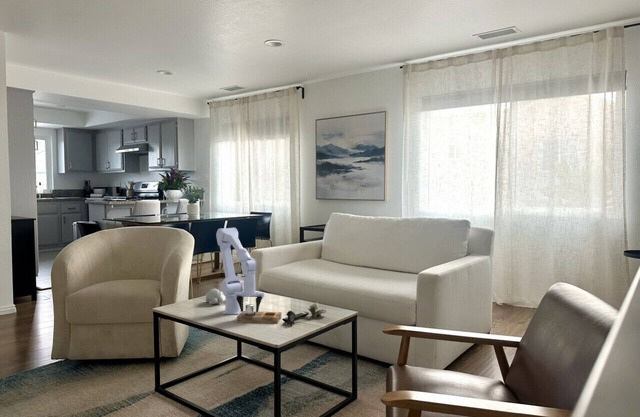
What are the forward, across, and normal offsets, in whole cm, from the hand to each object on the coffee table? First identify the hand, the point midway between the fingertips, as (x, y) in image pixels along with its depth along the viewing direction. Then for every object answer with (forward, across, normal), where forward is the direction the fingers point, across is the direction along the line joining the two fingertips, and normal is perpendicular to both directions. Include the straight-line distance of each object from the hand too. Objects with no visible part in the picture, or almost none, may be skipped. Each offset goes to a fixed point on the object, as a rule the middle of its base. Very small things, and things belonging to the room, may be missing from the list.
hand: (249, 311), depth 223 cm
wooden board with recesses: (+4, +5, 0) cm, 6 cm away
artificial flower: (+4, +28, +3) cm, 28 cm away
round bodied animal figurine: (+4, -28, +27) cm, 39 cm away
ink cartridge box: (+4, -15, +36) cm, 39 cm away
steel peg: (+4, 0, 0) cm, 4 cm away
